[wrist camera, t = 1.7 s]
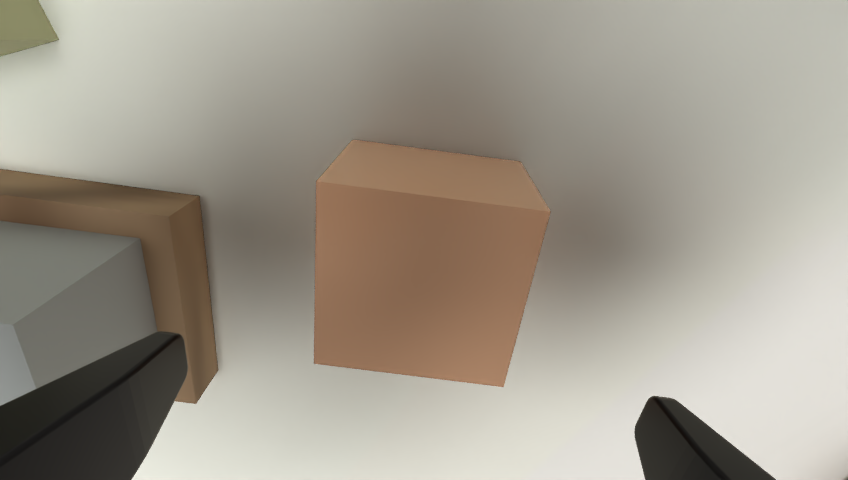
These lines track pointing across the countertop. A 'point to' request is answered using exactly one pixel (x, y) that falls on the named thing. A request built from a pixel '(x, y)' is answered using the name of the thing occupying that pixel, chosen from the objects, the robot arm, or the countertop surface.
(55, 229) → the grey block
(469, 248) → the terracotta block
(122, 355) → the robot arm
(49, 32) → the olive block
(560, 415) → the countertop surface
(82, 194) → the walnut slab
